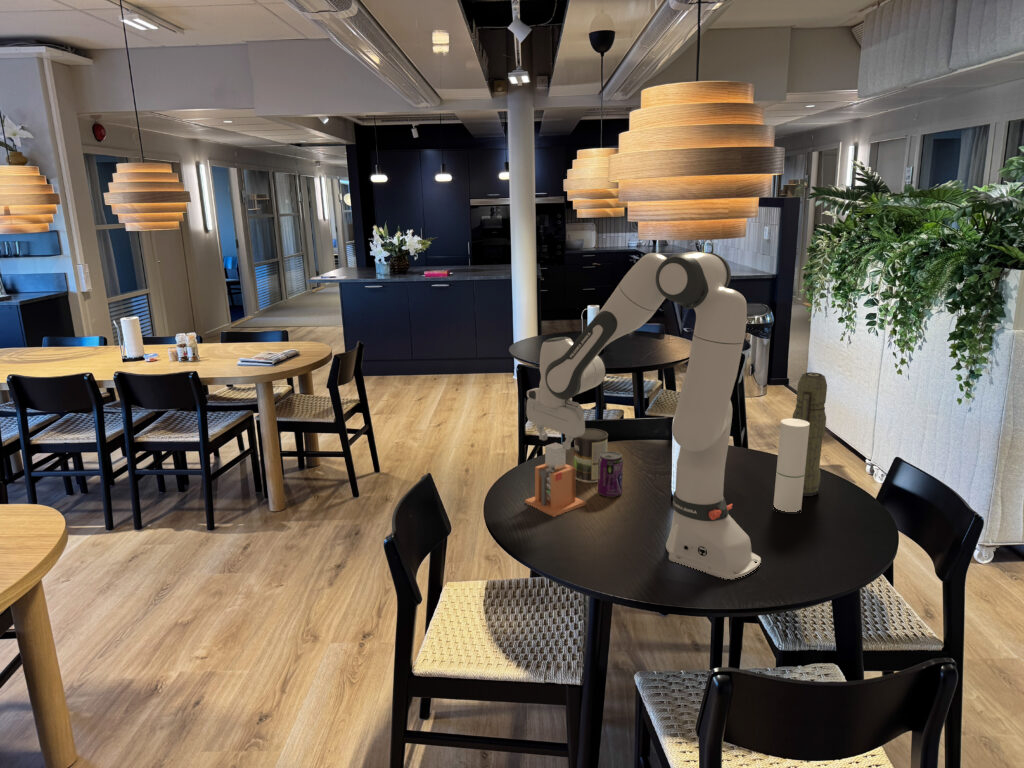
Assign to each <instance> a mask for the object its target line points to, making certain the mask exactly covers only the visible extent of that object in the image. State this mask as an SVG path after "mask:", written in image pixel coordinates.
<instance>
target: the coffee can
mask: <svg viewBox="0 0 1024 768" xmlns="http://www.w3.org/2000/svg"><path fill="white" fill-rule="evenodd" d="M608 438H609V433H608V432H607V431H605V430H603V429H599V428H591V427H590V428H588V427H587V428H586V427H585V433H584V434H583V435H582V436H580V437H576V438H574V439H573V440H574V441H573V442H574V443H573V445H574V449H573V450H574V451H573V467H575V468H576V480H577V481H579V482H583V483H588V484H589V483H590V484H593V483H596V482H597V483H598V460H599V458H600V454H601V453H602V452H607V451H608Z"/></svg>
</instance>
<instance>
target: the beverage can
mask: <svg viewBox="0 0 1024 768" xmlns="http://www.w3.org/2000/svg"><path fill="white" fill-rule="evenodd" d="M623 473H624V460H623V455H622V453H620V452H617V451H613V450H612V451H609V450H607V452H602V453H601V454H600V458H599V460H598V482H597V492H598V494H600V495H601V496H603V497H606V496H607V497H606V498H614V496H615V497H617V496H620V495H621V494H623V480H624V479H623V478H624V477H623V476H624V475H623Z"/></svg>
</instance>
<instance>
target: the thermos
mask: <svg viewBox="0 0 1024 768" xmlns="http://www.w3.org/2000/svg"><path fill="white" fill-rule="evenodd" d="M796 389H797V390H796V404H795V409H794V410H793V411H794V412H793V413H792V417H791V418H792V419H801V420H805V421H807V422H809V423H810V425H809V436H808V446H807V456H806V466H805V476H804V486H803V493H813V492H816V491H818V492H819V487H820V484H821V476H822V475H821V469H820V466H821V465H820V463H821V454H822V444H823V438H824V436H825V433H826V425H827V415H826V411H825V410H826V407H825V403H826V401H827V390H828V383H827V379H826V376H825V375H824V374H822V373H819V372H805V373H802V374H801V377H799V380H798V383H797V388H796Z"/></svg>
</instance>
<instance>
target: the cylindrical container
mask: <svg viewBox="0 0 1024 768" xmlns="http://www.w3.org/2000/svg"><path fill="white" fill-rule="evenodd" d="M809 425H810V423H809V422H807V421H805V420H801V419H792V417H790V418H783V419H781V420H780V427H779V438H778V450H777V460H776V461H777V463H776V474H775V475H776V476H775V485H774V496H773V505H774V507H775V508H776V509H778V510H781V511H785V512H797V511H799V510H801V511H802V505H803V504H802V503H803V498H804V497H803V486H804V476H805V466H806V456H807V446H808V436H809Z"/></svg>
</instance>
